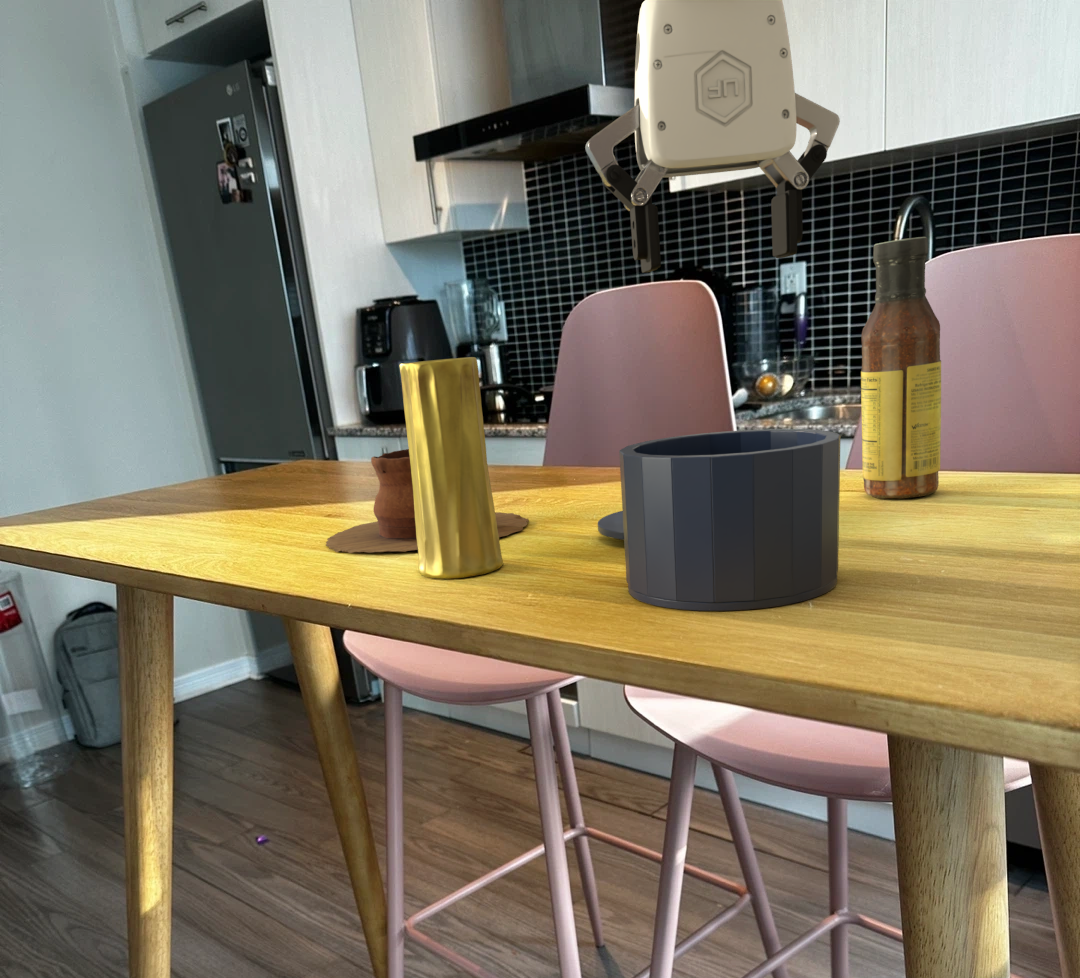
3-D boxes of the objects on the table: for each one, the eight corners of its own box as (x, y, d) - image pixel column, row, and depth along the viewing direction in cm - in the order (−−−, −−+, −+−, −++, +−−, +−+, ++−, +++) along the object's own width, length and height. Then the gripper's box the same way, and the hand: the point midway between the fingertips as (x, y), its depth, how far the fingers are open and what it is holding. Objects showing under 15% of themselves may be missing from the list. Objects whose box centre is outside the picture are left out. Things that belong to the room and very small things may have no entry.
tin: (759, 552, 71) (758, 425, 68) (883, 586, 60) (888, 435, 57) (594, 582, 67) (585, 448, 64) (693, 624, 56) (688, 463, 53)
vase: (484, 579, 70) (461, 359, 65) (404, 579, 72) (375, 366, 67) (515, 559, 76) (496, 354, 71) (439, 560, 78) (415, 361, 73)
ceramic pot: (505, 549, 80) (496, 456, 77) (292, 559, 83) (276, 471, 81) (545, 509, 96) (538, 431, 94) (365, 519, 100) (354, 445, 97)
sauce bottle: (936, 487, 89) (948, 236, 82) (942, 499, 84) (955, 231, 77) (857, 490, 91) (863, 245, 84) (858, 502, 86) (864, 241, 79)
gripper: (583, -35, 62) (607, 272, 68) (859, -58, 63) (859, 245, 69) (565, 5, 69) (588, 280, 75) (813, -16, 70) (817, 255, 76)
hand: (718, 263), depth 72 cm, fingers open, 9 cm apart
